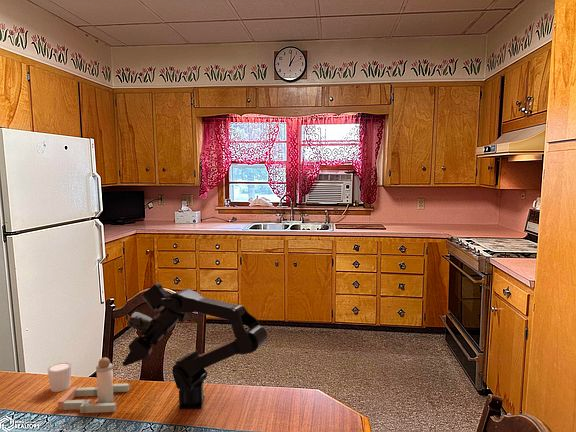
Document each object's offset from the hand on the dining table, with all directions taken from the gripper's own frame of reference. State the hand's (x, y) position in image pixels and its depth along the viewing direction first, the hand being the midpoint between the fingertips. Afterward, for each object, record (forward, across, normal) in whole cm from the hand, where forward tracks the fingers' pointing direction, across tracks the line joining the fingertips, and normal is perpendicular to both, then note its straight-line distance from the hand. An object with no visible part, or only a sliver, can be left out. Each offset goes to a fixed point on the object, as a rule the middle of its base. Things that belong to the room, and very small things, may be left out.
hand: (128, 358), depth 124 cm
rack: (+17, 0, +2) cm, 17 cm away
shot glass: (+28, -9, -9) cm, 30 cm away
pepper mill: (+15, 0, +4) cm, 15 cm away
